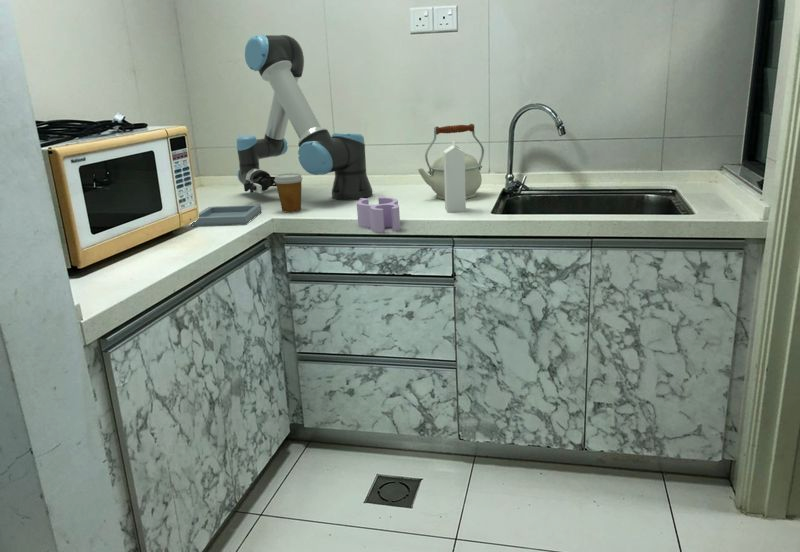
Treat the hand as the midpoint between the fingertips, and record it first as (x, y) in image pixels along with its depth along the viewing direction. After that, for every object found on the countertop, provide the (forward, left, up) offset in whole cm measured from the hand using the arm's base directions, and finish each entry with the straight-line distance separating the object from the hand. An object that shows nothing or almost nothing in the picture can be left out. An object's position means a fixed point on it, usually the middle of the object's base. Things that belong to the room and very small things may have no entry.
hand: (279, 186), depth 231 cm
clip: (-39, +34, -7) cm, 52 cm away
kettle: (-60, -7, -7) cm, 61 cm away
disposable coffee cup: (-5, +7, -7) cm, 12 cm away
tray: (+14, +18, -7) cm, 24 cm away
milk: (-61, +16, -7) cm, 64 cm away
